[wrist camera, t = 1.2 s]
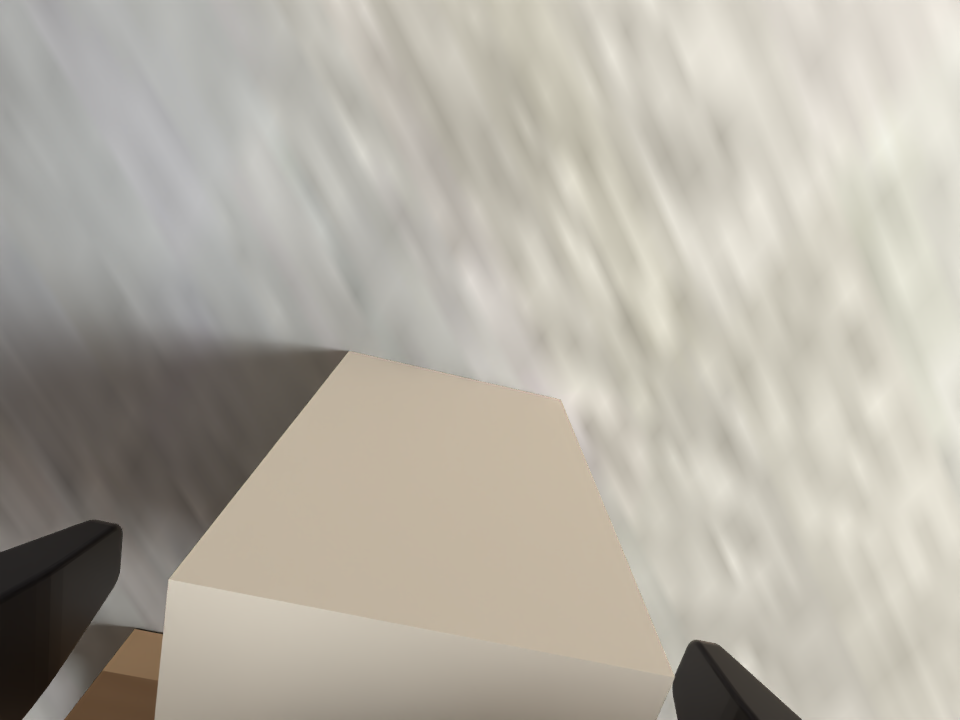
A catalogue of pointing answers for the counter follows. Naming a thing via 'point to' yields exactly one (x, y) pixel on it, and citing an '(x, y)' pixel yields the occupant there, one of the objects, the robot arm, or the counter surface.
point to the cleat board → (125, 683)
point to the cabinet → (412, 569)
